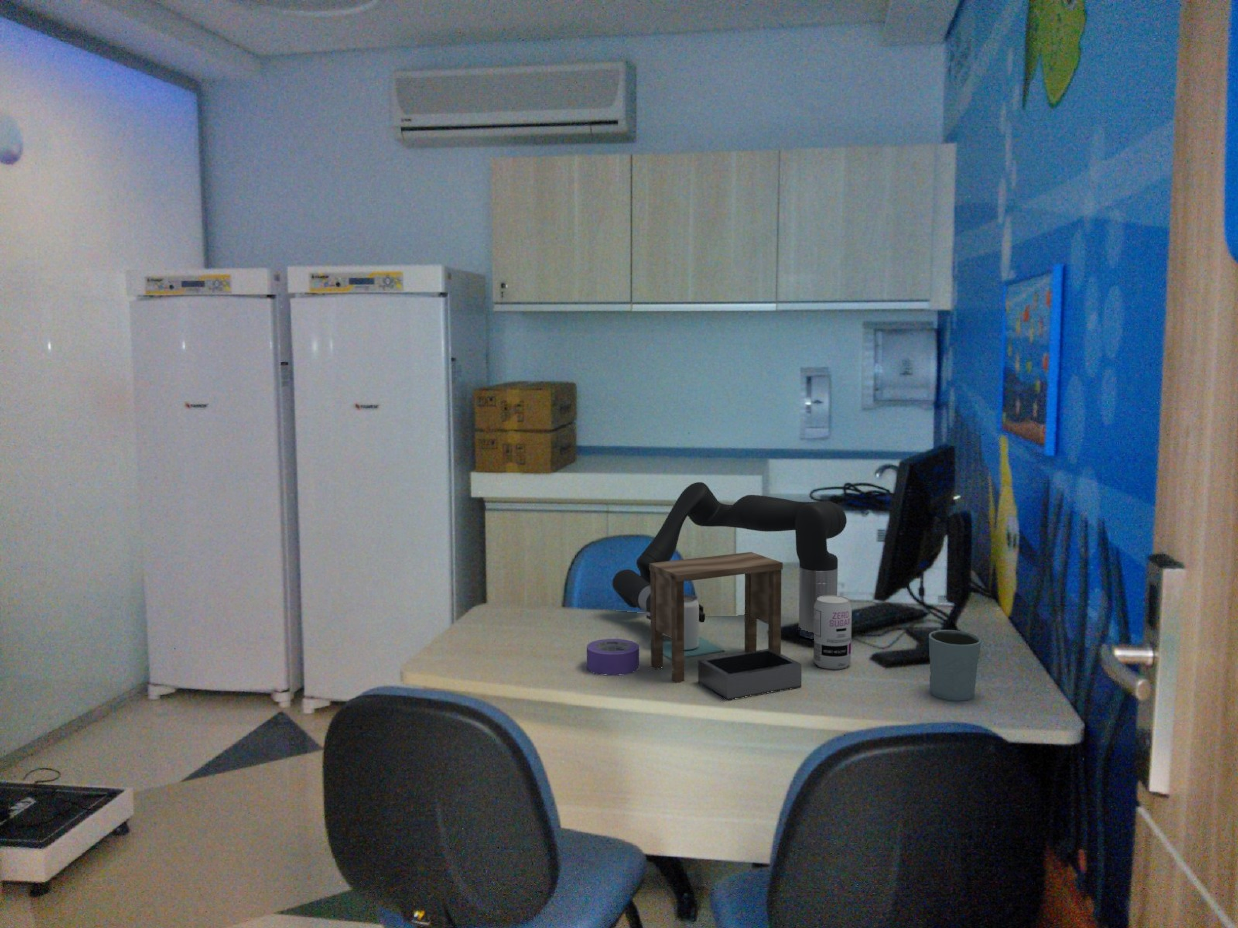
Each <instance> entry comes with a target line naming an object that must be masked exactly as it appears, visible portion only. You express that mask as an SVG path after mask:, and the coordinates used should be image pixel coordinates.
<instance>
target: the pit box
mask: <svg viewBox="0 0 1238 928" xmlns="http://www.w3.org/2000/svg"><path fill="white" fill-rule="evenodd" d="M697 664H698V665H697V678H698V679H697V681H698V682H697V683H698V684H700V685H701V684H702V686H703V687H704V688H706V689H708V690H709V691H711V692H712V691H713V692H712V693H713V694H716V695H717V696H719V697H720V698H722V699H724V698H725V699H726V700H725V699H724V700H725V701H727V700H728V701H731V700H730V699H734V700H736V699H735V698H739V699H743V698H742V697H744V698H746V697H745V696H750V695H755V696H759V695H758V694H761V695H763V694H762V693H766V694H768V693H767V692H771V691H777V692H781V691H780V690H783V691H787V690H786V689H788V690H791V689H790V688H794V689H798V687H799V688H802V678H803V677H802V671H803V670H802V667H803V666H802V665H803V664H802V663H801V662H798V661H797V660H795V659H792V658H790V657H788V656H786V655H784V654H782V653H781V654H780V653H778V652H776V651H774V650H772V649H770V648H769V649H768V648H764V649H756V651H751V652H745V651H744V652H739V653H733V654H727V655H721V656H715V657H714V656H713V657H710V658H709V657H708V658H703V659H702V658H701V659H697ZM750 697H751V696H750Z"/></svg>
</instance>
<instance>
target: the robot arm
mask: <svg viewBox="0 0 1238 928" xmlns="http://www.w3.org/2000/svg"><path fill="white" fill-rule="evenodd" d="M687 517H688V518H689V520H691V522H692V523H693V524H694V525H696V526H698V527H699V526H700V527H707V528H708V527H709V528H710V527H724V528H725V527H727V528H736V529H744V530H749V531H750V530H751V531H756V532H757V531H758V532H765V533H766V532H787V531H794V532H795V547H796V548H795V550H796V555H797V558H798V562H799V563H798V565H799V567H798V568H799V569H798V571H799V574H798V575H799V577H798V580H799V581H798V588H799V589H798V628H799V627H800V628H801V630H805V631H808V632H813V633H814V604H815V602H816V601H817V598H818V597H820V596H827V595H835V596H838V581H839V580H838V576H839V572H838V570H839V569H838V568H839V567H838V565H839V564H838V563H839V561H838V560H839V559H838V557H837V555H836V554H834V553H831V552H829V551H828V542H827V540H829V539H832V538H835V537H837V536H839V535H840V534H841V533H843V531H844V530H845V528H846V526H847V515H846V513H845V511H844V509H843V508H842V507H841V506H840V505H839V504H837V503H835V502H833V501H829V500H823V501H799V500H793V499H792V500H791V499H787V498H781V497H775V496H774V497H772V496H767V495H758V494H747V495H744V496H742V497H740V498H739V499H737V500H736V501H735V502H734V503H733V504H726V503H722V502H721V501H719V500H718V498H717V497H716V496H715V495H714V493H713V492H712V490H711V489H710V488H709V486H708V485H707V484H706V483H704V482H701V481H700V482H699V481H698V482H693V483H691V484H689V485H688V486H687V487H686V488H685V489H683V490H682V492H681V493H680V494H679V496H678V498H677V499H676V501H675V503H674V504H673V506H672V508H671V510H670V511H669V513H668V515H667V516H666V518H665V520H664V522H663V523H662V525H661V528H660V529H659V531H658V532H657V534H656V535H655V536H654V538H653V539H652V541H650V543H649V544H648V545H647V547H646V548H645V549H644V550H643V551H642V553H641V554H640V555H639V557H638V558H637V559H636V562H635V563H636V567H637V569H638V571H639V573H637V572H636V571H634V570H633V569H628V568H627V569H626V568H625V569H622V570H619V571H617V573H616V574H615V575H614V576H613V578H612V582H611V584H612V588H613V590H614V592H616V594H618V596H619V597H620V598H621V599H622V600H623V601H624V603H625V604H626V605H627V606H628V607H631V608H633V609H634V608H638V609H640V610H642V611H643V612H644V613H646V619H648V620H650V621H651V591H650V570H649V563H657V562H666V561H671V560H672V558H673V556H674V554H675V552H676V549H677V546H678V542H679V537H680V533H681V531H682V527H683V525H684V522H685V521H686V519H687ZM705 620H706V614H705V613H704V606H703V605H701V604H700V603H699V623H705Z"/></svg>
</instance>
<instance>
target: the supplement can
mask: <svg viewBox="0 0 1238 928" xmlns="http://www.w3.org/2000/svg"><path fill="white" fill-rule="evenodd" d="M852 609H853V607H852V604H851V602H850V599H849V598H848V597H846V596H843V595H842V596H841V595H837V596H835V595H827V596H820V597H818V598H817V601H816V602H815V604H814V640H813V662H814V664H815V665H817V667H819V668H822V669H826V670H842V669H846V668H847V667H849V665H851V663H852V662H851V661H852V658H851V657H852V613H853V611H852Z"/></svg>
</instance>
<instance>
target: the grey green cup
mask: <svg viewBox="0 0 1238 928" xmlns="http://www.w3.org/2000/svg"><path fill="white" fill-rule="evenodd" d="M981 644H982V640H981V638H980V637H979V636H978V635H976V634H975V633H970V632H968V631H962V630H953V629H951V630H950V629H939V630H934V631H931V632H930V633H929V634H928V647H929V649H928V650H929V652H928V653H929V654H928V655H929V656H928V657H929V670H930V671H929V672H930V674H929V691H930V694H931V695H932V696H934V697H936V698H939V699H942V700H947V701H954V702H956V701H957V702H959V701H960V702H961V701H968V700H972V699H973V698H974V697H975V691H976V683H977V681H976V679H977V674H978V673H977V672H978V663H979V659H980V657H979V656H980V653H981V646H982V645H981Z"/></svg>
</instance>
